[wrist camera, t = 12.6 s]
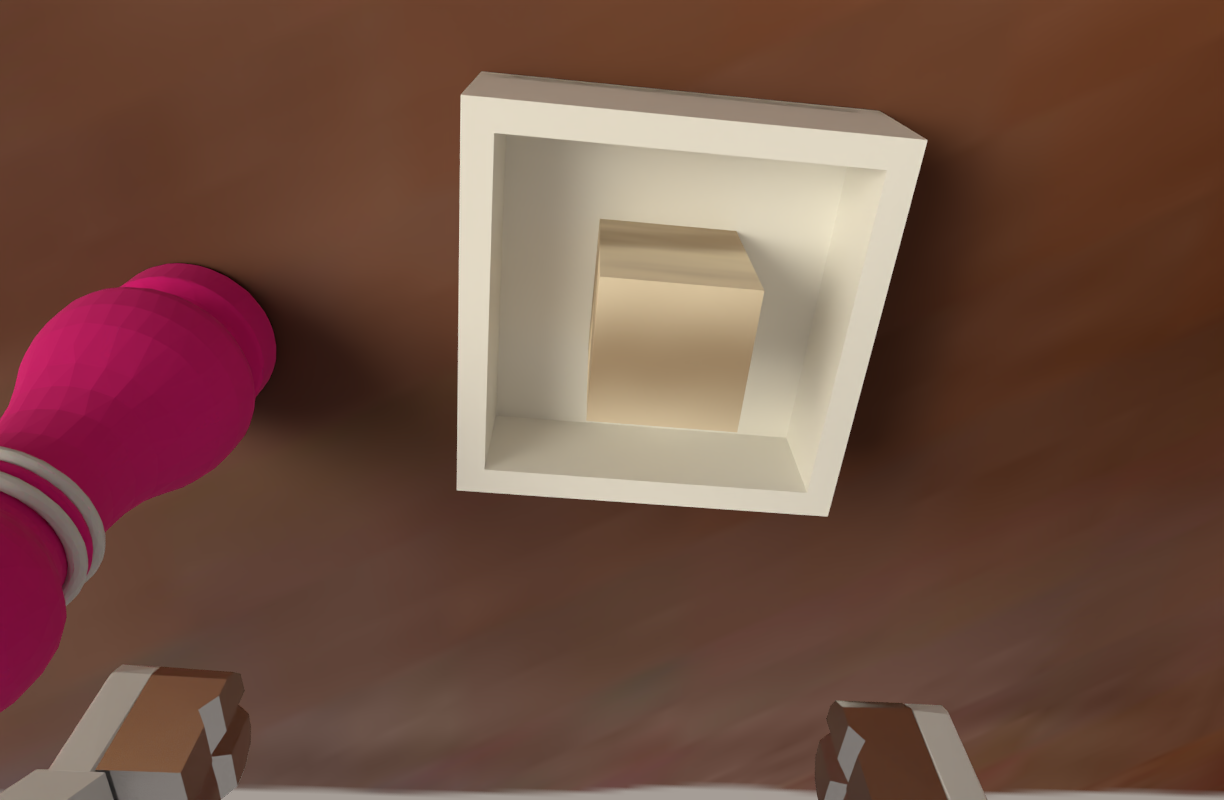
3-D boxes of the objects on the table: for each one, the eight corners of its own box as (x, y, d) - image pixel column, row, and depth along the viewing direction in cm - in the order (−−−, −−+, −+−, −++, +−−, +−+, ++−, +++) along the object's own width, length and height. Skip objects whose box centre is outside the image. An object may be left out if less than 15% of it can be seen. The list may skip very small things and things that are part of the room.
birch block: (599, 218, 31) (599, 276, 25) (736, 230, 31) (764, 290, 26) (588, 344, 33) (586, 420, 28) (715, 354, 33) (737, 432, 28)
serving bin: (481, 71, 29) (461, 94, 25) (879, 110, 30) (927, 139, 26) (474, 422, 36) (456, 490, 31) (800, 447, 37) (827, 516, 32)
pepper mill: (84, 243, 32) (-549, 615, 14) (279, 255, 32) (-106, 633, 15) (123, 410, 35) (-348, 876, 18) (299, 419, 36) (8, 886, 18)
